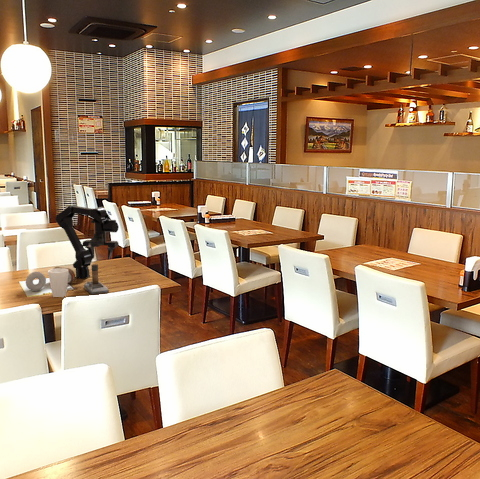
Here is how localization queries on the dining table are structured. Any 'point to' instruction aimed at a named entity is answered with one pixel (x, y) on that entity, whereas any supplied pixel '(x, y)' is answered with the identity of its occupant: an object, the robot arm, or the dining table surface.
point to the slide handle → (95, 277)
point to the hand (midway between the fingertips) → (101, 259)
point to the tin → (71, 275)
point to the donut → (31, 277)
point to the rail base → (96, 289)
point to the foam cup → (58, 281)
